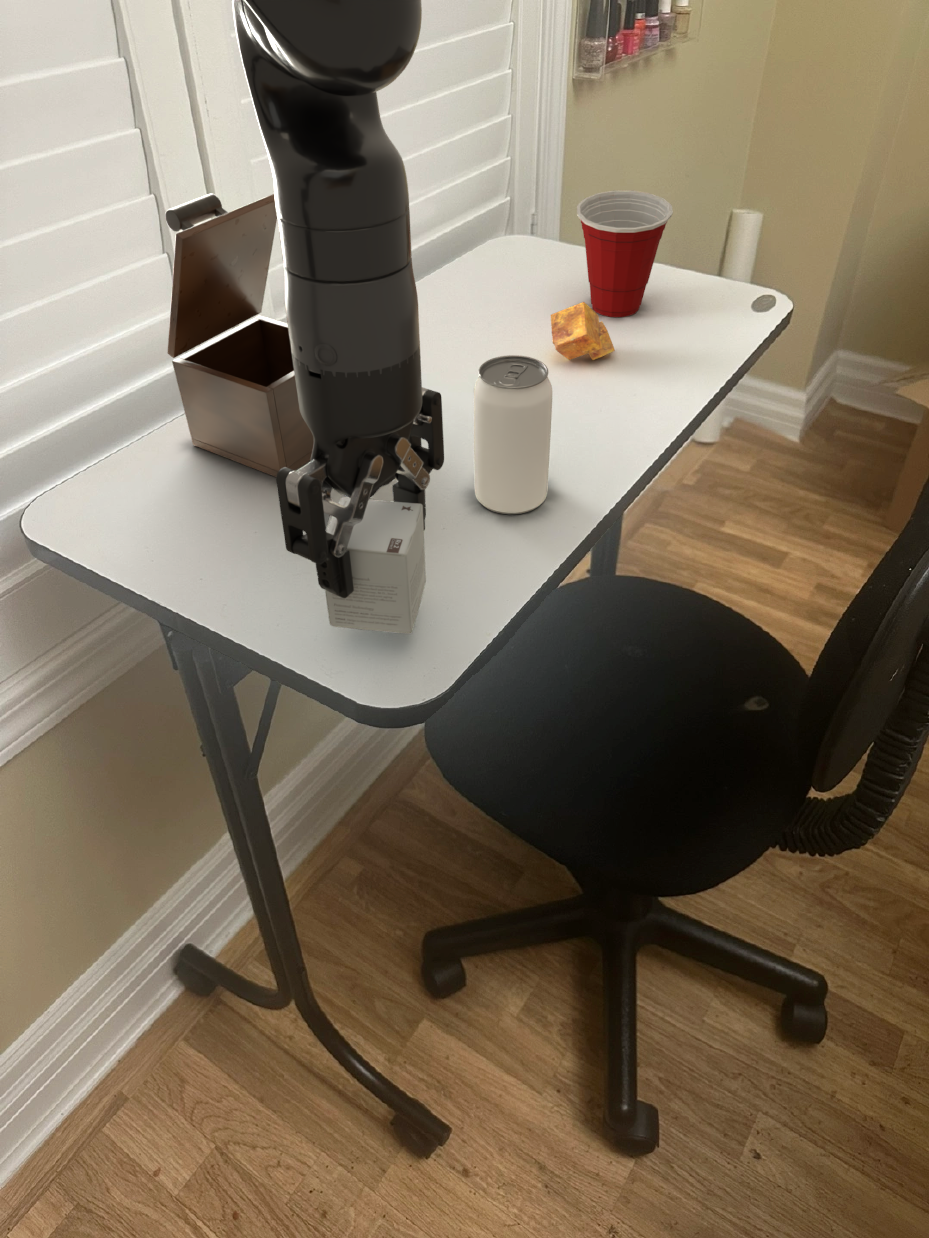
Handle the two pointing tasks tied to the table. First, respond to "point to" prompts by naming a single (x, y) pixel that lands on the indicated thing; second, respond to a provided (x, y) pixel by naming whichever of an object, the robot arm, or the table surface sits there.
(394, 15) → the robot arm
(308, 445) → the chest
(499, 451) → the can
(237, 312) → the lid
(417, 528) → the product carton
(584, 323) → the pyrite
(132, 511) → the table surface
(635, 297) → the plastic cup
